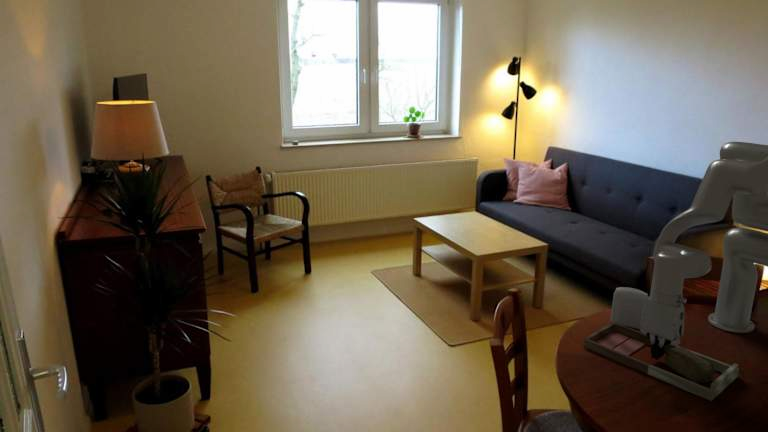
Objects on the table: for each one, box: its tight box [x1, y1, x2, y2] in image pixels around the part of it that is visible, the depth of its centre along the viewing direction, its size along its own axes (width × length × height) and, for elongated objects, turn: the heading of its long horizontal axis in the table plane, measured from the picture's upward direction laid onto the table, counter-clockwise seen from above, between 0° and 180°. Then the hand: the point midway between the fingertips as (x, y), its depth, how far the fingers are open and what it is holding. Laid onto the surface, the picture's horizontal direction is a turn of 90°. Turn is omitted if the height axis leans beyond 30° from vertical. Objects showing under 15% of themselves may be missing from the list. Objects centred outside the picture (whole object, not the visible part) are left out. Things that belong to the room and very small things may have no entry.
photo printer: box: [610, 286, 649, 330], centre depth 177 cm, size 10×4×12 cm, turn 59°
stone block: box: [664, 346, 715, 384], centre depth 151 cm, size 6×12×5 cm, turn 20°
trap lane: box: [583, 322, 740, 402], centre depth 156 cm, size 17×36×4 cm, turn 39°
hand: (656, 357), depth 156 cm, fingers closed
